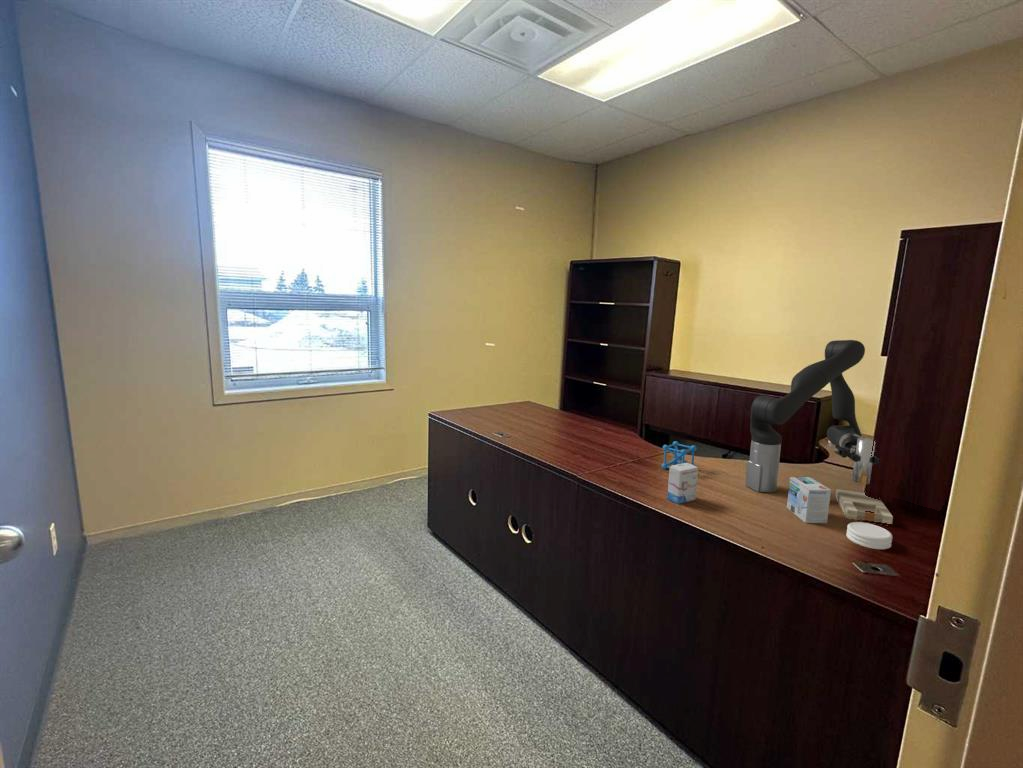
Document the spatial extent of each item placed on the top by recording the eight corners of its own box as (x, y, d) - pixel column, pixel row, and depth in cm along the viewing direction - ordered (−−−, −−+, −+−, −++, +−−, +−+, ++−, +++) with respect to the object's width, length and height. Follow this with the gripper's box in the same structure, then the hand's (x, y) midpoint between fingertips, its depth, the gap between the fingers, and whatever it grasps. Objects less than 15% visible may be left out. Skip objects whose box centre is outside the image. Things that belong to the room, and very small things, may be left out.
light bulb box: (785, 508, 150) (789, 476, 148) (807, 508, 149) (810, 476, 148) (805, 523, 139) (809, 489, 137) (828, 523, 139) (832, 489, 137)
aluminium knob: (872, 486, 146) (878, 443, 144) (854, 483, 148) (860, 441, 146) (867, 480, 151) (873, 439, 149) (850, 477, 153) (856, 437, 151)
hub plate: (891, 526, 137) (893, 516, 137) (846, 518, 142) (847, 509, 141) (875, 503, 153) (876, 494, 153) (835, 497, 158) (836, 488, 157)
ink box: (678, 504, 152) (680, 470, 150) (666, 499, 156) (668, 465, 155) (696, 499, 156) (698, 466, 154) (684, 494, 160) (686, 461, 158)
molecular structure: (683, 475, 178) (685, 450, 177) (660, 468, 186) (661, 444, 184) (696, 469, 185) (697, 445, 183) (673, 463, 192) (674, 440, 191)
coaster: (871, 532, 134) (872, 520, 133) (900, 550, 124) (902, 538, 123) (837, 532, 134) (838, 521, 133) (864, 550, 124) (866, 538, 123)
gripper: (830, 433, 164) (840, 445, 149) (880, 438, 158) (896, 452, 143) (828, 453, 165) (837, 467, 150) (877, 459, 159) (892, 475, 144)
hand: (866, 460), depth 146 cm, fingers closed on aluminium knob, 4 cm apart
